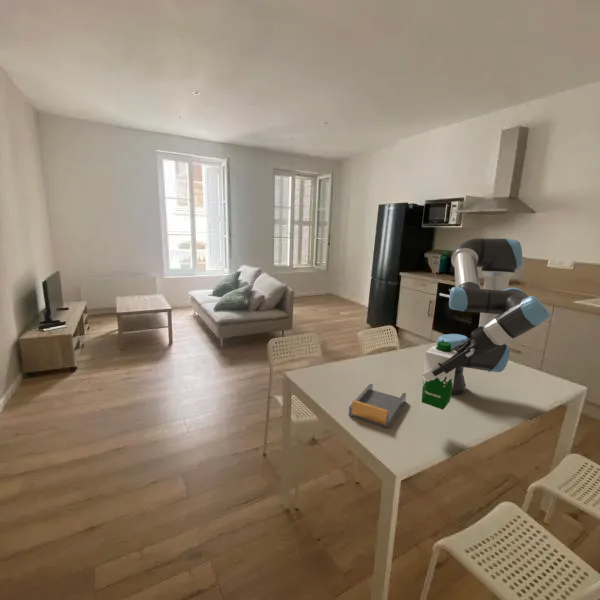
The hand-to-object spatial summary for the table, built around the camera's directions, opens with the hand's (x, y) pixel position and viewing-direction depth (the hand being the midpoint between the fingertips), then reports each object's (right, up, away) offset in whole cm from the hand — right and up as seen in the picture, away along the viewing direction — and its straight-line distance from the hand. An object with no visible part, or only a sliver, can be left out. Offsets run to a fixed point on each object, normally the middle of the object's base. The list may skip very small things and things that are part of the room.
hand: (428, 372), depth 107 cm
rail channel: (-13, -17, +16) cm, 27 cm away
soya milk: (+3, -10, +1) cm, 11 cm away
